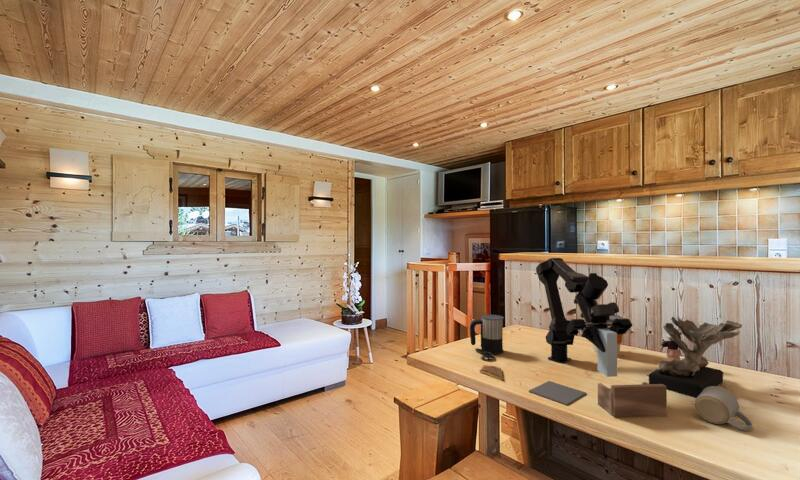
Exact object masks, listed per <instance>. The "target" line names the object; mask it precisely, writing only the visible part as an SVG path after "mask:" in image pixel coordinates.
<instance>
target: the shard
mask: <svg viewBox="0 0 800 480" xmlns="http://www.w3.org/2000/svg"><path fill="white" fill-rule="evenodd" d="M502 370H503V369H502V368H501V367H499V366H496V365H486V364H485V365H481V369H479V373H480V374H483V375H486V376H489V377H490V378H493V379H496V380H498V381H503V378H504V377H503V372H502Z"/></svg>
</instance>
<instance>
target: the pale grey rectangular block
mask: <svg viewBox="0 0 800 480" xmlns="http://www.w3.org/2000/svg"><path fill="white" fill-rule="evenodd" d="M598 335H599V337H600V339H601V341H602V343H603V345H604V348H605V352H602V351H601V350H600V349H598V354H597V371H598V372H599V373H601V374H602V375H604V376H605V377H607V378H608V377H616V378H617V377H618V355H617V333H616V332H614V331H611V330H609V329H598Z"/></svg>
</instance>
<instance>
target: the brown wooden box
mask: <svg viewBox="0 0 800 480" xmlns="http://www.w3.org/2000/svg"><path fill="white" fill-rule="evenodd" d="M667 391H668V390H667V386H665V385H663V384H649V382H646V381H644V382H642V384H611V385H610V387H607V386H605V385H604V384H603V383H601V382H598V383H597V405H598V406H599V407H601V409H603V411H606V412H607V413H608V414H609V415H611V416H612V417H613V418H614V419H615V418H616V419H618V418H619V419H621V418H655V417H656V418H660V417H661V418H662V417H663V418H664V417H668V416H667V415H668V411H667V409H668V408H667V407H668V406H667V405H668V404H667V401H668V397H667V395H668V393H667Z"/></svg>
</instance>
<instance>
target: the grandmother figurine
mask: <svg viewBox="0 0 800 480" xmlns="http://www.w3.org/2000/svg"><path fill="white" fill-rule="evenodd" d="M666 338H668V339H669V340H665V341H663V342H662V343H661V345H660V347H659V350H660V351H663V350H664V348H666V361H673V360H681V355H680V354H681V353H680V350H681V352H682V354H684V352H683V350H682V348H680V346H679V345H678V344H677V343H676V342H675V341H674V340H673V339H672V338H671V336H670V335H669V334H668V333H666ZM679 349H680V350H679Z"/></svg>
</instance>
